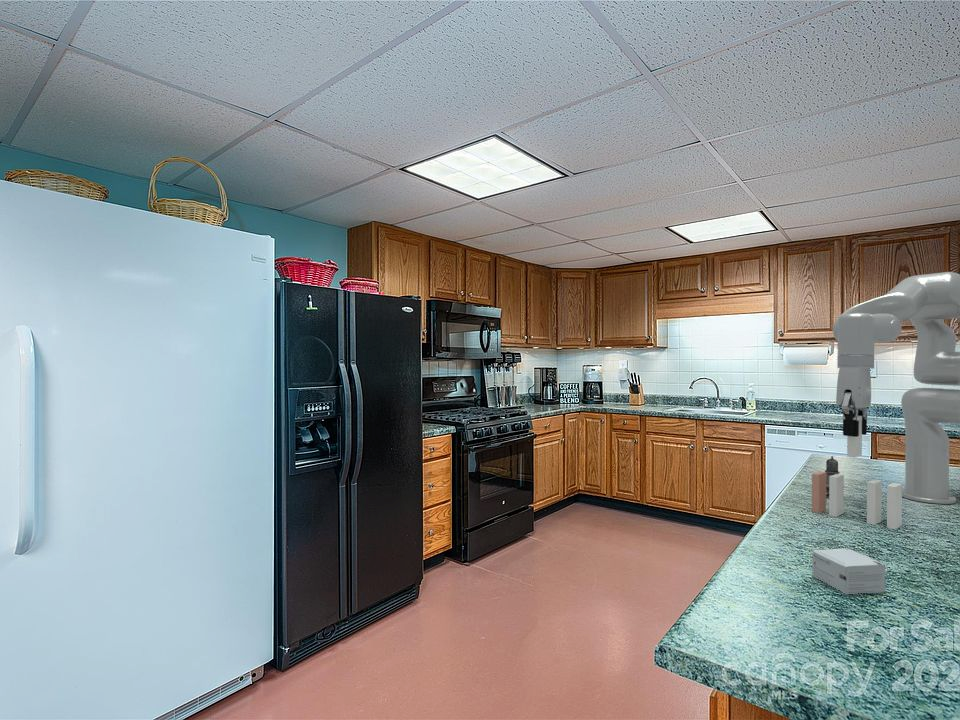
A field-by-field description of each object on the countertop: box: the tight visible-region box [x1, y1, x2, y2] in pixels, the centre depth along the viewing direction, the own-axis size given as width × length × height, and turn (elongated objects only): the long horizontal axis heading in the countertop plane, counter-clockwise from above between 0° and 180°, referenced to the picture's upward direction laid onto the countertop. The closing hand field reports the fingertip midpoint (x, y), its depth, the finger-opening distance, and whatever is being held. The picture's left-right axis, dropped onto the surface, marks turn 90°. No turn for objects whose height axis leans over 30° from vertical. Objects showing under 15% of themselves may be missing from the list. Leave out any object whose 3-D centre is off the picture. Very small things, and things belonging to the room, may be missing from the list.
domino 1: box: [828, 473, 845, 518], centre depth 134 cm, size 5×2×10 cm, turn 127°
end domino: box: [811, 470, 827, 514], centre depth 137 cm, size 5×2×10 cm, turn 127°
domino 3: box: [866, 479, 883, 526], centre depth 127 cm, size 5×2×10 cm, turn 127°
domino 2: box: [846, 416, 863, 459], centre depth 130 cm, size 5×2×10 cm, turn 127°
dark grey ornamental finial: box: [824, 455, 841, 499], centre depth 150 cm, size 6×6×12 cm
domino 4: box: [886, 482, 903, 530], centre depth 124 cm, size 5×2×10 cm, turn 127°
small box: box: [811, 547, 886, 595], centre depth 93 cm, size 8×8×5 cm
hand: (854, 434), depth 130 cm, fingers closed on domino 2, 4 cm apart
